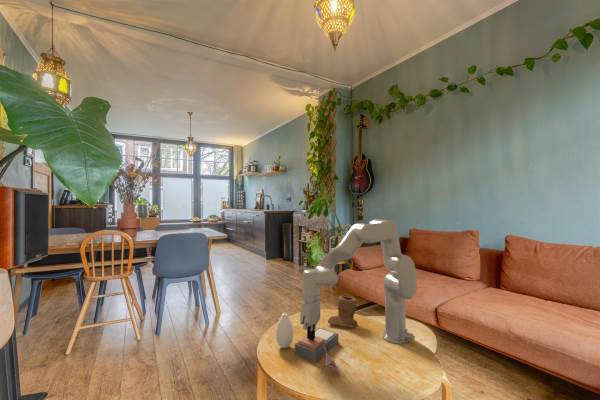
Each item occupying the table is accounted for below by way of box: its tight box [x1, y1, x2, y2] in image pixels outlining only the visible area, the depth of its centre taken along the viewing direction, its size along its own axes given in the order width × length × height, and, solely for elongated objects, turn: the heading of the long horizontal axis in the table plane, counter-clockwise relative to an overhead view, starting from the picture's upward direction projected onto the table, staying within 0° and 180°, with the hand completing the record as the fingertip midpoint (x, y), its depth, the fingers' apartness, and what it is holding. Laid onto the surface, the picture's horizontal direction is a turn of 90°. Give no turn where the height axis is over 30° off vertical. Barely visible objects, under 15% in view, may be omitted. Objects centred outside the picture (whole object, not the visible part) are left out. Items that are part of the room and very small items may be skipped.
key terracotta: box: [298, 334, 324, 350], centre depth 123 cm, size 8×8×2 cm
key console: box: [294, 327, 339, 364], centre depth 127 cm, size 11×20×4 cm, turn 144°
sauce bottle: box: [275, 308, 294, 349], centre depth 128 cm, size 8×8×18 cm
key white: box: [315, 328, 336, 341], centre depth 131 cm, size 8×8×2 cm
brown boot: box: [327, 295, 358, 329], centre depth 152 cm, size 15×12×15 cm
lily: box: [320, 346, 340, 374], centre depth 109 cm, size 12×12×10 cm
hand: (311, 338), depth 123 cm, fingers closed
